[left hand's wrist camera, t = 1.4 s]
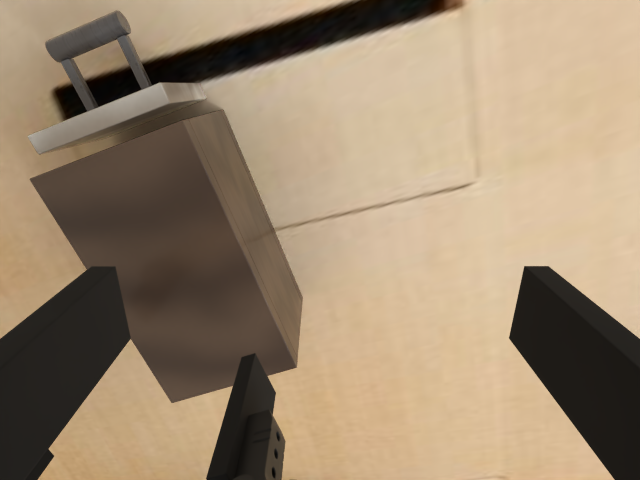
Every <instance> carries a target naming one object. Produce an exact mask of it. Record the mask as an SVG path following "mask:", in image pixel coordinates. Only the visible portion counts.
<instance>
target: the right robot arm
mask: <svg viewBox="0 0 640 480" xmlns="http://www.w3.org/2000/svg"><path fill="white" fill-rule="evenodd" d="M275 395H276V392H275V390H274V388H273V386H272V385H271V383H270V381H269V379H268V377H267V375H266V373H265V371H264V369H263V367H262V365H261V363H260V361H259V359H258V357H257V355H256V353H254V354H250V355H247V356H244V357H241V361H240V364H239V368H238V371H237V374H236V378H235V381H234V385H233V388H232V392H231V395H230V398H229V402H228V405H227V409H226V412H225V416H224V419H223V423H222V426H221V429H220V433H219V436H218V440H217V443H216V447H215V450H214V454H213V457H212V460H211V464H210V467H209V471H208V474H207V478H206V479H207V480H281V479H282V469H283V459H284V449H285V439H284V437H283V434H282V432H281V430H280V428H279V426H278V424H277V422H276V421H275V419H274V417H273V408H274V401H275ZM53 457H54V455H53V454H52V453H51V452H50V451H49V449H48V450H47V451H46V453H45V454H44V455H43V457H42V458H41V459H40V461H39V462H38V463H37V465H36V466H35V467H34V469H33V470H32V471H31V473H30V474H29V475H28V477H27V478H26V479H25V480H37V479H38V478H39V477H40V475H41V474H42V472H43V471H44V470H45V468H46V467H47V466H48V464H49V463H50V461H51V460H52V459H53Z"/></svg>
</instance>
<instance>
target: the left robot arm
mask: <svg viewBox="0 0 640 480" xmlns="http://www.w3.org/2000/svg"><path fill="white" fill-rule="evenodd" d="M130 339H131V336H130V332H129V327H128V322H127V318H126V313H125V308H124V304H123V299H122V294H121V290H120V285H119V280H118V276H117V271H116V266H91V267H90V268H89V269H88V270H86V271H85V272H84V273H83V274H81V275H80V276H79V277H78V278H76V279H75V280H74V281H73V282H71V283H70V284H69V285H68V286H66V287H65V288H64V289H63V290H61V291H60V292H59V293H57V294H56V295H55V296H54V297H52V298H51V299H50V300H49V301H47V302H46V303H45V304H44V305H42V306H41V307H40V308H39V309H37V310H36V311H35V312H34V313H32V314H31V315H30V316H29V317H27V318H26V319H25V320H24V321H22V322H21V323H20V324H18V325H17V326H16V327H15V328H13V329H12V330H11V331H10V332H8V333H7V334H6V335H5V336H3V337H2V338H1V339H0V480H25V479H26V478H27V477H28V475H29V474H30V473H31V471H32V470H33V469H34V467H35V466H36V465H37V463H38V462H39V461H40V459H41V458H42V457H43V455H44V454H45V453H46V451H47V450H48V449H49V447H50V446H51V445H52V443H53V442H54V441H55V439H56V438H57V436H58V435H59V434H60V432H61V431H62V430H63V428H64V427H65V426H66V424H67V423H68V422H69V420H70V419H71V418H72V416H73V415H74V414H75V412H76V411H77V410H78V408H79V407H80V406H81V404H82V403H83V402H84V400H85V399H86V398H87V396H88V395H89V394H90V392H91V391H92V390H93V388H94V387H95V386H96V384H97V383H98V382H99V380H100V379H101V378H102V376H103V375H104V374H105V372H106V371H107V370H108V368H109V367H110V366H111V364H112V363H113V361H114V360H115V359H116V357H117V356H118V355H119V353H120V352H121V351H122V349H123V348H124V347H125V345H126V344H127V343H128V341H129V340H130ZM509 339H510V340H511V341H512V343H513V344H514V345H515V347H516V348H517V349H518V351H519V352H520V353H521V355H522V356H523V357H524V359H525V360H526V361H527V363H528V364H529V366H530V367H531V368H532V370H533V371H534V372H535V374H536V375H537V376H538V378H539V379H540V380H541V382H542V383H543V384H544V386H545V387H546V388H547V390H548V391H549V392H550V394H551V395H552V396H553V398H554V399H555V400H556V402H557V403H558V404H559V406H560V407H561V408H562V410H563V411H564V412H565V414H566V415H567V416H568V418H569V419H570V420H571V422H572V423H573V424H574V426H575V427H576V428H577V430H578V431H579V432H580V434H581V435H582V436H583V438H584V439H585V441H586V442H587V443H588V445H589V446H590V447H591V449H592V450H593V451H594V453H595V454H596V455H597V457H598V458H599V459H600V461H601V462H602V463H603V465H604V466H605V467H606V469H607V470H608V471H609V473H610V474H611V475H612V477H613V478H614V479H615V480H640V339H639V338H638V337H637V336H635V335H634V334H633V333H632V332H630V331H629V330H628V329H627V328H625V327H624V326H623V325H622V324H620V323H619V322H618V321H616V320H615V319H614V318H613V317H611V316H610V315H609V314H608V313H606V312H605V311H604V310H603V309H601V308H600V307H599V306H598V305H596V304H595V303H594V302H593V301H591V300H590V299H589V298H588V297H586V296H585V295H584V294H583V293H581V292H580V291H579V290H577V289H576V288H575V287H574V286H572V285H571V284H570V283H569V282H567V281H566V280H565V279H564V278H562V277H561V276H560V275H559V274H557V273H556V272H555V271H554V270H552V269H551V268H550V267H549V266H524V271H523V275H522V280H521V285H520V290H519V294H518V299H517V304H516V308H515V313H514V318H513V322H512V327H511V332H510V336H509Z"/></svg>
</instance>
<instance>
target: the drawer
mask: <svg viewBox="0 0 640 480" xmlns="http://www.w3.org/2000/svg"><path fill="white" fill-rule="evenodd" d="M130 33H131V29H130V26H129V24H128V22H127V20H126V18H125V17H124V15H123V14H122V13H121V12H120V11H114V12H112V13H110V14H108V15H105V16H103V17H101V18H98V19H96V20H94V21H91V22H89V23H87V24H85V25H82V26H80V27H78V28H75V29H73V30H71V31H68V32H66V33H64V34H62V35H59V36H57V37H55V38H52V39H50V40H48V41H46V43H45V45H46V48H47V51H48V52H49V54H50V55H51V56H52V58H53V59H54V60H56V61H57V62H60V63H62V65H63V67H64V69H65V71H66V73H67V75H68V76H69V78H70V80H71V82H72V84H73V86H74V87H75V89H76V91H77V93H78V95H79V97H80V98H81V100H82V102H83V104H84V106H85V108H86V109H87V111H88V112H85V113H83V114H80V115H78V116H76V117H73V118H71V119H68V120H66V121H63V122H61V123H58V124H56V125H53V126H51V127H48V128H46V129H43V130H41V131H38V132H36V133H33V134H31V135H28V138H29V140H30V141H31V143H32V145H33V146H34V148H35V150H36V151H37V153H38V154H44V153H48V152H52V151H56V150H60V149H64V148H68V147H72V146H76V145H80V144H84V143H88V142H92V141H96V140H100V139H104V138H107V137H110V136H112V135H115V134H117V133H120V132H123V131H125V130H128V129H130V128H133V127H135V126H138V125H141V124H143V123H146V122H148V121H151V120H153V119H156V118H159V117H161V116H164V115H166V114H169V113H171V112H174V111H177V110H179V109H182V108H184V107H187V106H189V105H192V104H195V103H197V102H200V101H202V100H205V99H207V97H206V95H205V93H204V90H203V88H202V86H201V84H200V83H158V84H155V85H153V86H152V84H151V82H150V80H149V78H148V76H147V74H146V72H145V69H144V67H143V65H142V63H141V61H140V59H139V57H138V55H137V53H136V50H135V48H134V46H133V44H132V42H131V40H130V38H129V36H127V35H128V34H130ZM116 39H117V40H118V42H119V44H120V46H121V48H122V50H123V52H124V54H125V56H126V58H127V60H128V62H129V65H130V67H131V69H132V71H133V73H134V75H135V77H136V79H137V81H138V83H139V85H140V87H141V89H142V90H140V91H138V92H135V93H133V94H130V95H128V96H125V97H123V98H120V99H118V100H115V101H113V102H110V103H108V104H105V105H103V106H100V107H99V106H98V105H97V103H96V101H95V99H94V97H93V95H92V93H91V91H90V90H89V88H88V86H87V84H86V82H85V80H84V78H83V76H82V75H81V73H80V71H79V69H78V67H77V65H76V63H75V61H74V60H73V59H72V58H74V57H76V56H79V55H81V54H83V53H86V52H88V51H90V50H93V49H95V48H98V47H100V46H102V45H105V44H107V43H109V42H112V41H114V40H116Z"/></svg>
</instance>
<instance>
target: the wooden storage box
mask: <svg viewBox="0 0 640 480" xmlns="http://www.w3.org/2000/svg"><path fill="white" fill-rule="evenodd" d="M30 181H31V182H32V184H33V185H34V187H35V189H36V190H37V192H38V193H39V195H40V196H41V198H42V200H43V201H44V203H45V204H46V206H47V207H48V209H49V211H50V212H51V214H52V215H53V217H54V218H55V220H56V222H57V223H58V225H59V226H60V228H61V229H62V231H63V233H64V234H65V236H66V237H67V239H68V241H69V242H70V244H71V245H72V247H73V248H74V250H75V252H76V253H77V255H78V256H79V258H80V259H81V261H82V263H83V264H84V266H85V267H86V269H87V270H88V269H89V268H90V267H91V266H116V271H117V276H118V280H119V285H120V290H121V294H122V299H123V304H124V308H125V313H126V318H127V322H128V327H129V332H130V336H131V340H132V341H133V343H134V344H135V346H136V348H137V349H138V351H139V352H140V354H141V355H142V357H143V359H144V360H145V362H146V363H147V365H148V366H149V368H150V370H151V371H152V373H153V374H154V376H155V377H156V379H157V381H158V382H159V384H160V385H161V387H162V388H163V390H164V392H165V393H166V395H167V396H168V398H169V399H170V401H171V403H174V402H177V401H181V400H184V399H188V398H191V397H195V396H198V395H202V394H205V393H209V392H212V391H216V390H220V389H223V388H227V387H230V386H233V385H234V381H235V378H236V374H237V371H238V368H239V364H240V361H241V357H244V356H247V355H250V354H254V353H256V355H257V357H258V359H259V361H260V363H261V365H262V367H263V369H264V371H265V373H266V375H267V376H269V375H272V374H276V373H279V372H283V371H286V370H290V369H293V368H297V359H298V346H299V335H300V323H301V312H302V300H303V297H302V295H301V293H300V290H299V288H298V285H297V283H296V281H295V278H294V276H293V274H292V271H291V269H290V266H289V264H288V262H287V259H286V257H285V255H284V252H283V250H282V247H281V245H280V243H279V240H278V238H277V236H276V233H275V231H274V228H273V226H272V224H271V221H270V219H269V217H268V214H267V212H266V209H265V207H264V205H263V202H262V200H261V198H260V195H259V193H258V190H257V188H256V186H255V183H254V181H253V179H252V176H251V174H250V171H249V169H248V167H247V164H246V162H245V160H244V157H243V155H242V152H241V150H240V148H239V145H238V143H237V141H236V138H235V136H234V133H233V131H232V129H231V126H230V124H229V122H228V119H227V117H226V115H225V112H224V110H220V111H216V112H212V113H208V114H204V115H200V116H196V117H193V118H189V119H185V120H181V121H179V122H176V123H173V124H171V125H168V126H166V127H163V128H160V129H158V130H155V131H153V132H150V133H147V134H145V135H142V136H140V137H137V138H134V139H132V140H129V141H127V142H124V143H121V144H119V145H116V146H114V147H111V148H108V149H106V150H103V151H101V152H98V153H95V154H93V155H90V156H88V157H85V158H82V159H80V160H77V161H75V162H72V163H69V164H67V165H64V166H62V167H59V168H56V169H54V170H51V171H49V172H46V173H43V174H41V175H38V176H36V177H33V178H30Z"/></svg>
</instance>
